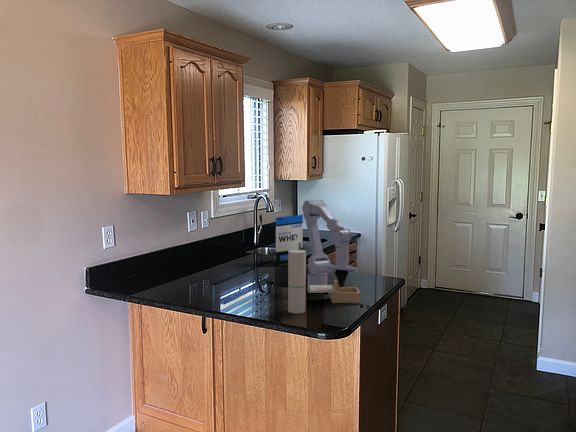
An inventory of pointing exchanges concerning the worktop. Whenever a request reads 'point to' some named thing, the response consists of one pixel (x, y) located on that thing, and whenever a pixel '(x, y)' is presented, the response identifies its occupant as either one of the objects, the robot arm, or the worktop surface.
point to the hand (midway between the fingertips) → (341, 286)
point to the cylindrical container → (296, 281)
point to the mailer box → (346, 295)
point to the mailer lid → (325, 287)
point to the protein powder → (288, 237)
